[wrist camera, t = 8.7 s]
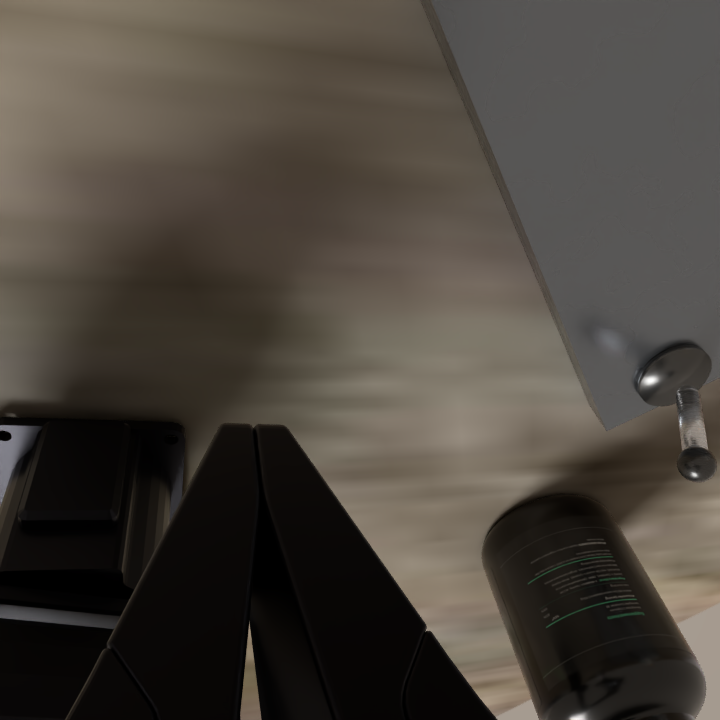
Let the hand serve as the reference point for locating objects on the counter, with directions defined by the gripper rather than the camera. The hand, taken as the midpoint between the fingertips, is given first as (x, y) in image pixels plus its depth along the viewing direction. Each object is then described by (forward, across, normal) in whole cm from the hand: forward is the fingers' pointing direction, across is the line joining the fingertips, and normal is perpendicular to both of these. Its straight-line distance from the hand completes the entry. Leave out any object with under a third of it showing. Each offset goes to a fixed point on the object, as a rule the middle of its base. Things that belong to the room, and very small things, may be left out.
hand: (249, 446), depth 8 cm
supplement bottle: (+12, -17, +18) cm, 28 cm away
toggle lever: (+9, -17, +6) cm, 20 cm away
